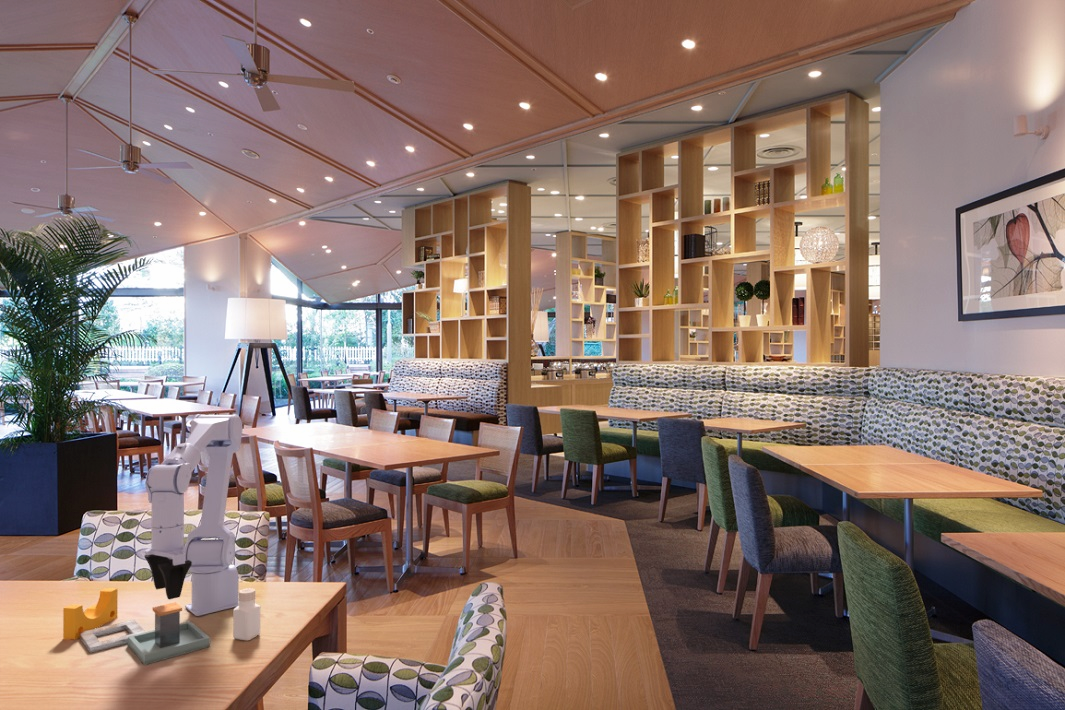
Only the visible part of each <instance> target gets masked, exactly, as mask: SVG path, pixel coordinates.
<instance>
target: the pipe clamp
mask: <svg viewBox="0 0 1065 710" xmlns="http://www.w3.org/2000/svg"><path fill="white" fill-rule="evenodd" d="M62 613H63V616H62V618H63V619H62V620H63V624H62V625H63V629H62V630H63V632H62V634H63V636H62V637H63V640H70V639H74V640H75V639H76V640H78V639H80V638H79V632H84V631H88V630H92V629H95V628H97V627H98V628H100V627H102V626H104V625H106V624H108V623H109V621H110V622H111V621H113V620H115V619H117V618H118V588H115V587H114V588H113V587H111V588H110V587H106V588H103V589H102V590H100V591H99V597H98V601H97V603H95V604H93V605H91V606H88V607H86V609H85V611H84V609H83V604H69V605H67V606H65V607H63V609H62ZM107 622H108V623H107ZM105 623H106V624H105ZM103 624H104V625H103ZM101 625H102V626H101ZM99 626H100V627H99Z"/></svg>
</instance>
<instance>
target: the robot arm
mask: <svg viewBox="0 0 1065 710" xmlns="http://www.w3.org/2000/svg"><path fill="white" fill-rule="evenodd" d="M242 423H243V421H242V419H241V417H240V416H239V415H238V414H237V413H234V414H201V413H197V414H196V415H194V417H193V418H192V420H191V423H190V434H189V435H188V437H187V439H186V440H185V442H183V443H178V444H177V445H176V446H175V447H174V448H173V449H172V450H171V451H170V452H169V454H168V455H167V456H166V458H165V459H164V460H163V461H162V462H161V463H160V464H155V465H154V466H153V467H150V468H149V469H148V471H147V473H146V477H145V481H144V483H145V484H144V486H145V490H146V492H147V494H148V503H150V504H151V523H150V524H151V526H150V527H151V528H150V529H151V532H150V533H151V535H150V536H151V538H150V539H151V543H150V544H151V545H150V548H147V549H144V558H145V560H146V562H147V563H148V566H149V569H150V571H151V576H152V579H153V584H154V587H155V589H156V590H161V589H164V590H165V594H166V595H165V596H166V597H167V600H173V599H178V598H181V595H182V590H183V587H184V583H185V579H186V576H187V574H188V572H190V573H191V602H190V603H189V604H185V605H184V607H185V608H186V609H187V610H188V611H189V612H191V614H192V615H194V616H196V617H200V616H205V615H209V614H212V613H216V612H220V611H223V610H229V609H232V608H233V609H234V608H236V607H237V606H239V585H240V584H239V572H238V569H237V567H236V565H235V564H233V563H234V559H235V555H236V544H235V540H236V536H235V533H234V532H233V531H232V530H231V529H229V528H228V527H227V526H226V525H225V517H226V516H225V515H226V509H227V508H226V507H227V500H228V492H229V484H230V478H231V467H232V462H233V456H234V455H233V454H235V453H236V452H239V451H240V449H241V445H242V435H243V429H244V427H243V424H242ZM201 452H204V453H206V454H207V455H208V457H209V459H208V466H207V474H206V481H205V488H204V495H203V502H202V510H201V518H200V523H199V525H198V526H197V527H195V528H194V529H192V530H191V531H190V532H189V533H187V537H186V542H185V492H187V491H188V488H189V486H190V481H191V478H192V472H193V471H194V470H195V468H196V467H197V466H198V465H199V463H200V461H201V459H202V454H201ZM211 538H212V539H211ZM184 543H185V544H184Z"/></svg>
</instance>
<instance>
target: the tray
mask: <svg viewBox="0 0 1065 710" xmlns="http://www.w3.org/2000/svg"><path fill="white" fill-rule="evenodd" d="M127 646H128V647H129V649H130V650H131V651H132V652H133V654H135V655H136V657H137V658H138V659H139V660H140V661H141V662H142V664H143V665H148V664H153V663H157V662H160V661H164V660H166V659H172V658H174V657H177V656H181V655H182V656H183V655H185V654H188V653H193V652H197V651H200V650H203V649H206V648H210V647H211V637H210V636H208V635H207V634H206V633H205V632H204V631H203V630H201V629H200V628H199V626H197V625H196V624H195V623H193V622H192V621H191V620H189V621H185V622H182V623H181V622H180V643H178V644H174V645H171V646H167V647H163V648H159V646H158V645H157V644H156V643H155V629H153V630H150V631H146V632H144V633H140V634H136V635H132V636H128V643H127Z"/></svg>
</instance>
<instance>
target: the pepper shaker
mask: <svg viewBox="0 0 1065 710" xmlns="http://www.w3.org/2000/svg"><path fill="white" fill-rule="evenodd" d="M238 603H239V606H237V607H234V608H233V610H232V611H233V612H232V617H233V618H232V619H233V620H232V628H233V630H232V632H233V633H232V636H233V637H232V638H234V639H235V640H241V641H250V640H252V639H254V638H256V637H257V635H258V636H259V635H260V634H261V606H260V605H259V604H257V603H256V589H255V588H252V587H251V588H250V587H246V588H243V589H240V590H238Z"/></svg>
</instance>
